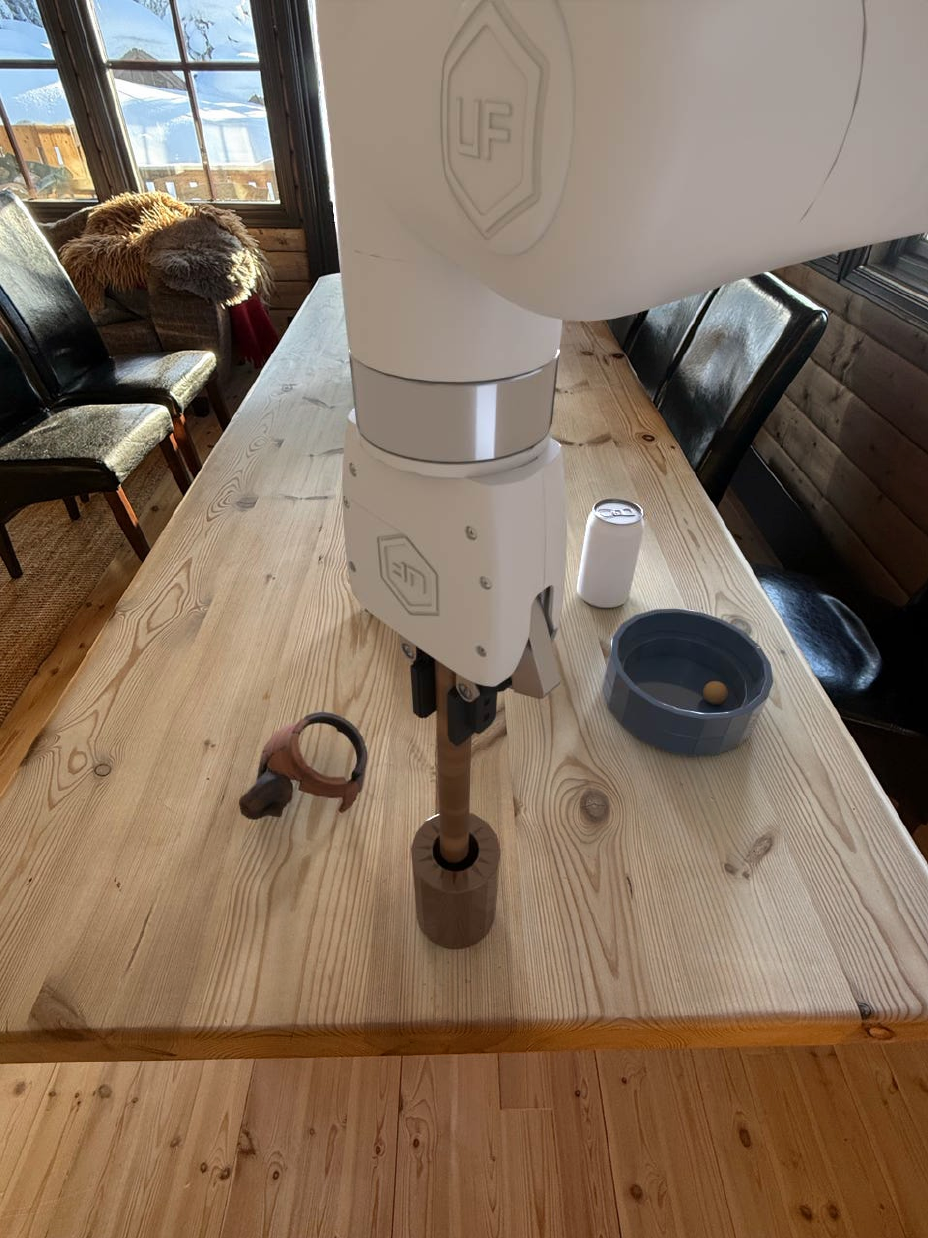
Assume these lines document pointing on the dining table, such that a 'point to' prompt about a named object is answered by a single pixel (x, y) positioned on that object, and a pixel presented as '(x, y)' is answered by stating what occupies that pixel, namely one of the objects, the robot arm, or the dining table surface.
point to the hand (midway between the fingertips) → (454, 714)
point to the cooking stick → (451, 776)
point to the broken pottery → (301, 770)
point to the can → (610, 552)
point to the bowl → (685, 681)
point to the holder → (456, 885)
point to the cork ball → (715, 692)
